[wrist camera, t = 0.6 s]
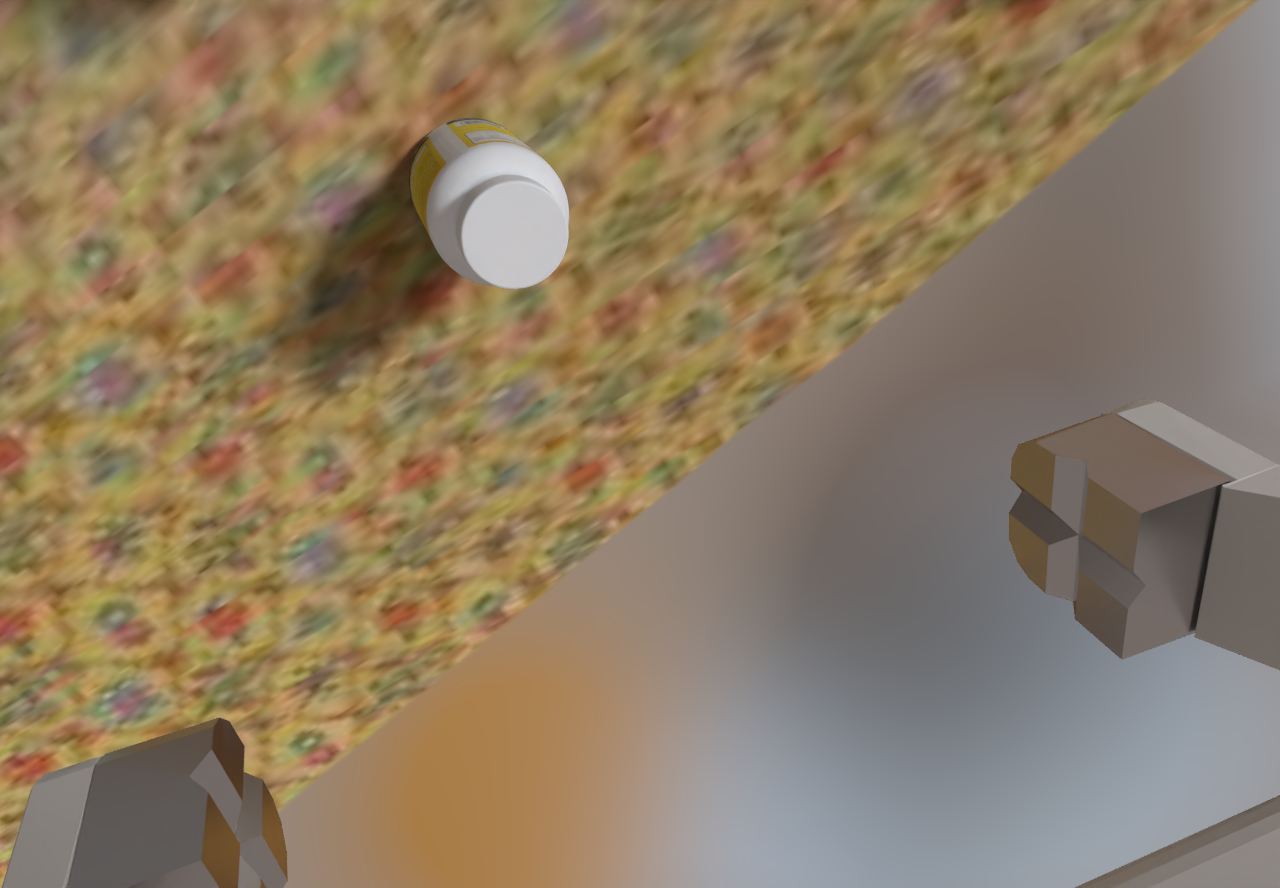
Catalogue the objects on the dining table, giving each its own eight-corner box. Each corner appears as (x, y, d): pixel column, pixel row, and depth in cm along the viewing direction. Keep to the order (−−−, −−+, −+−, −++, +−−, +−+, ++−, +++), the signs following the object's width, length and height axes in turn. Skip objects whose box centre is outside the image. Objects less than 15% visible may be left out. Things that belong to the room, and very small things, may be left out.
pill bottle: (426, 253, 51) (459, 327, 41) (391, 130, 48) (418, 180, 38) (543, 223, 52) (601, 288, 43) (516, 101, 49) (573, 142, 39)
